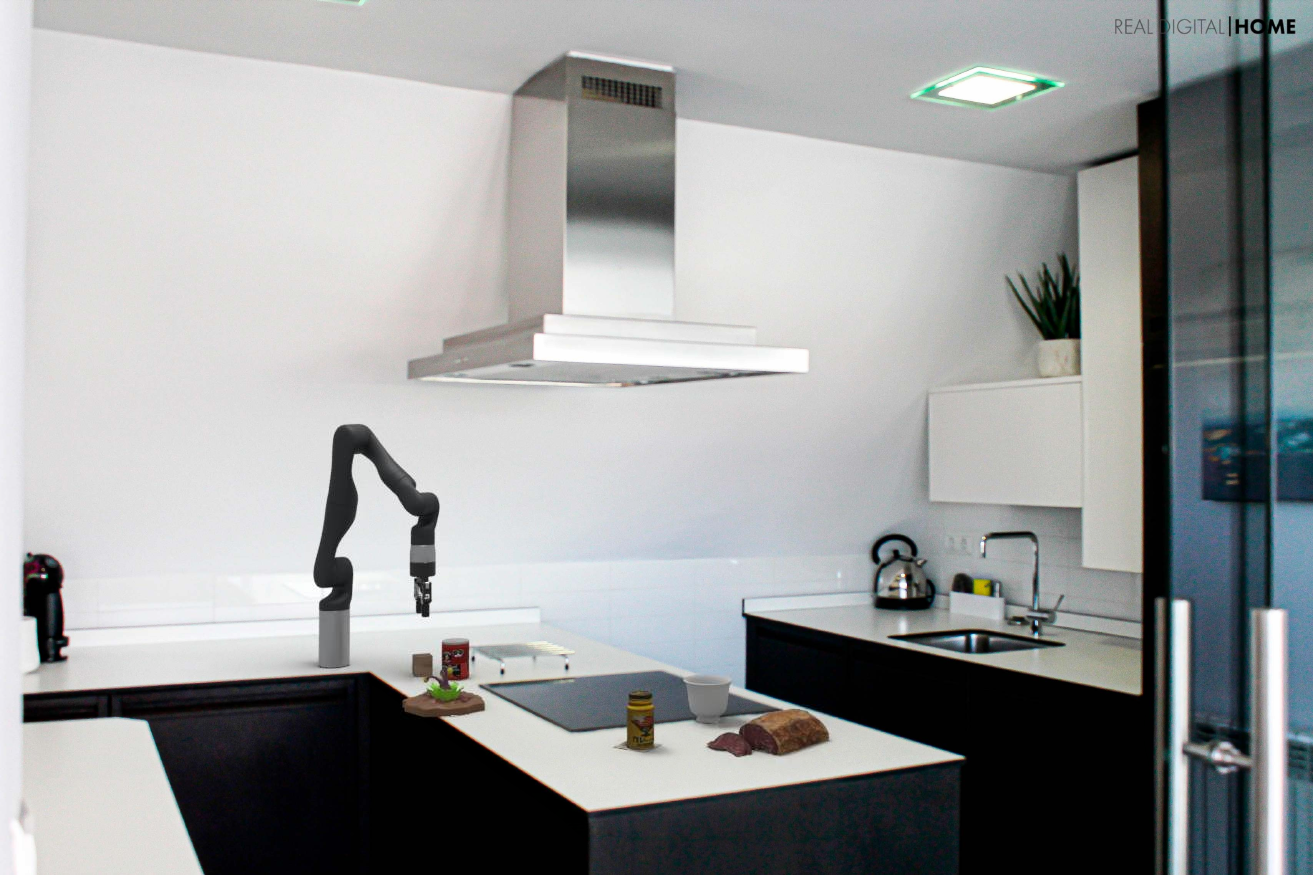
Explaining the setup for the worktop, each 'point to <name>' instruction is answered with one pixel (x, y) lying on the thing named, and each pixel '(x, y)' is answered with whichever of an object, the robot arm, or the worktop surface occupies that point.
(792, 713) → the cured meat
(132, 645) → the worktop surface
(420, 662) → the walnut block
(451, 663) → the canned food
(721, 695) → the teacup
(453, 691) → the plant
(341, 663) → the robot arm
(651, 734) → the condiment
